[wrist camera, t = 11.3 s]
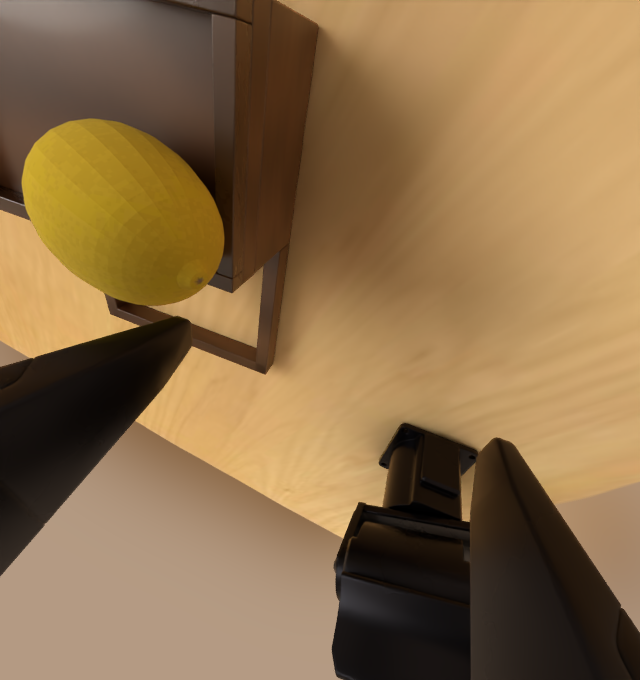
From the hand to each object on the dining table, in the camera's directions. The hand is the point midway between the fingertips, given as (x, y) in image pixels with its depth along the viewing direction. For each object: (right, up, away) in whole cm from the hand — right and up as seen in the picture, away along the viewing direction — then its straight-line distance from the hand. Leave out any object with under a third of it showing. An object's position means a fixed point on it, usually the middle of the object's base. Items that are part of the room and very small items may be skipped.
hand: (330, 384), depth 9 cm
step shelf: (-9, +10, +12) cm, 18 cm away
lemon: (-10, +8, +4) cm, 14 cm away
